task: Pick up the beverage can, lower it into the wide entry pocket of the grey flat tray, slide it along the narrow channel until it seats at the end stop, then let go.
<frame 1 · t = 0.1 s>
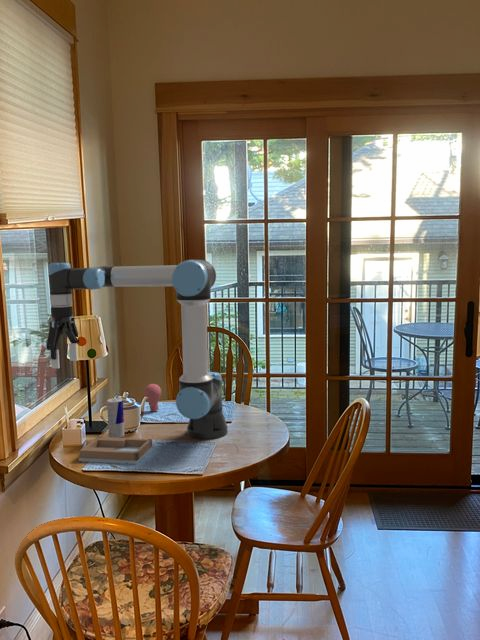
hand: (65, 364, 207), 28 cm above the table, fingers open, 13 cm apart
beverage can: (116, 440, 209), on the table
light bulb: (153, 411, 245), on the table
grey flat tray: (117, 453, 194), on the table
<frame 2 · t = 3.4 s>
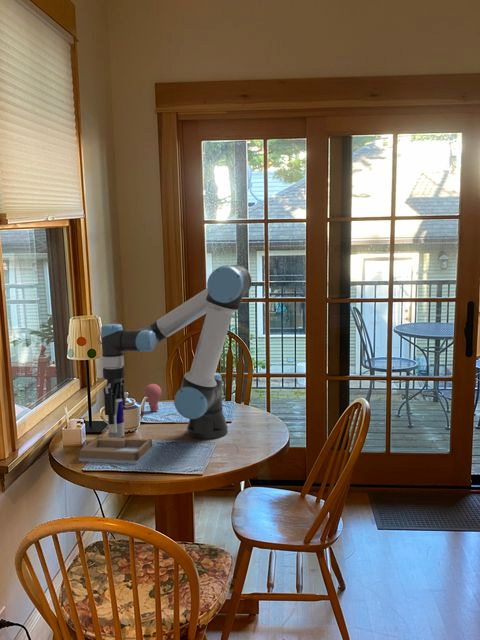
hand: (116, 429, 208), 4 cm above the table, fingers closed on beverage can, 5 cm apart
beverage can: (116, 440, 209), on the table, touching gripper
everything else where it was.
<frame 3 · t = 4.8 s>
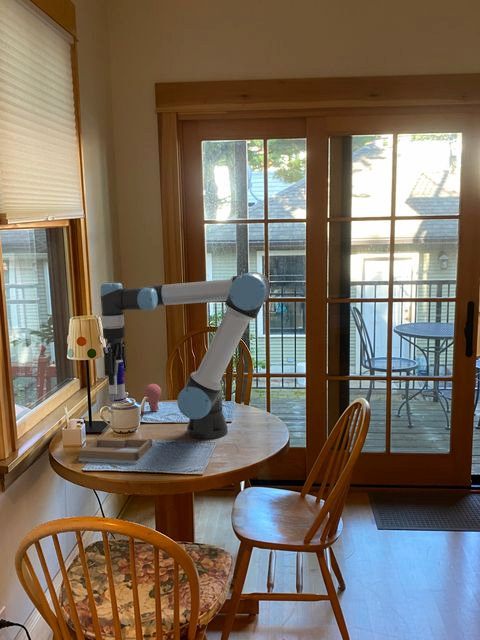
hand: (117, 391, 204), 19 cm above the table, fingers closed on beverage can, 5 cm apart
beverage can: (117, 402, 205), point 15 cm above the table, touching gripper
everything else where it was.
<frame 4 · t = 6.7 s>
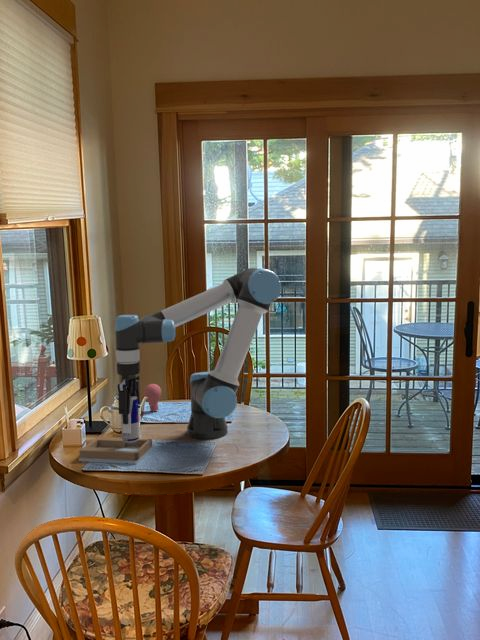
hand: (130, 429, 192), 9 cm above the table, fingers closed on beverage can, 5 cm apart
beverage can: (130, 441, 192), point 5 cm above the table, touching gripper
everything else where it was.
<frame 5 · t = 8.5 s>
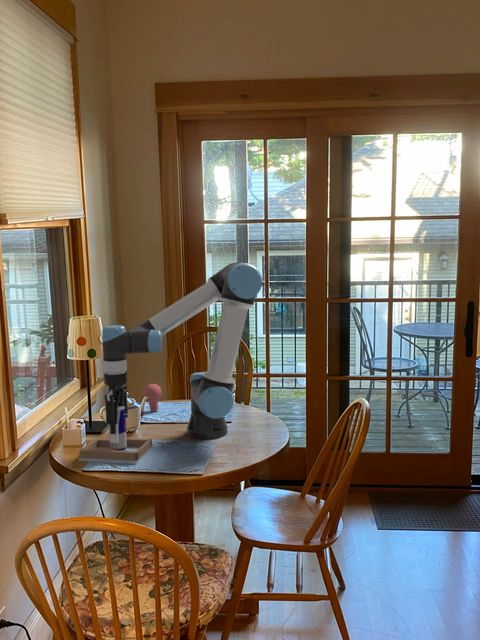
hand: (118, 439, 193), 5 cm above the table, fingers closed on beverage can, 5 cm apart
beverage can: (118, 451, 194), point 1 cm above the table, touching gripper
everything else where it was.
when the fingers open (5 cm above the table, at t = 10.1 s): beverage can stays where it is, resting on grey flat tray.
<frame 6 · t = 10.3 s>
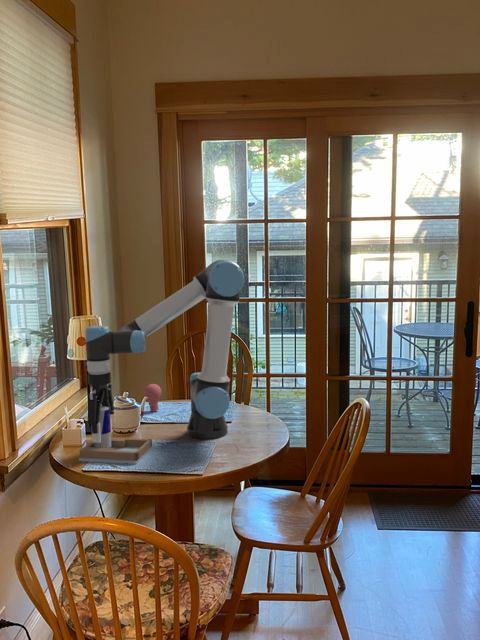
hand: (102, 437, 194), 6 cm above the table, fingers open, 8 cm apart
beverage can: (103, 451, 195), point 1 cm above the table, touching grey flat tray
everything else where it was.
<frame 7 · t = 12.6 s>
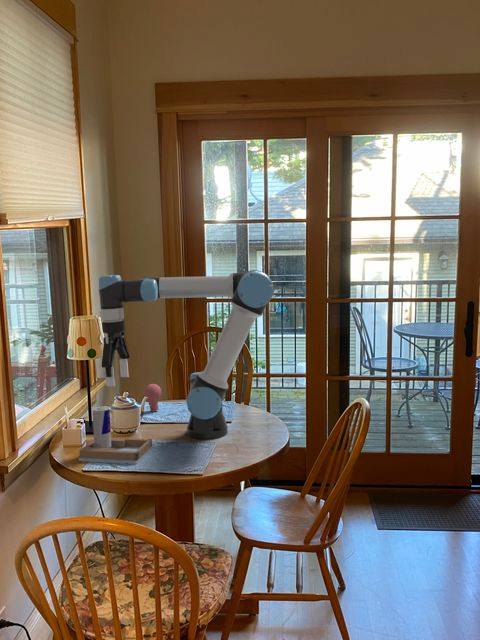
hand: (117, 381, 198), 23 cm above the table, fingers open, 13 cm apart
nothing on the table moved.
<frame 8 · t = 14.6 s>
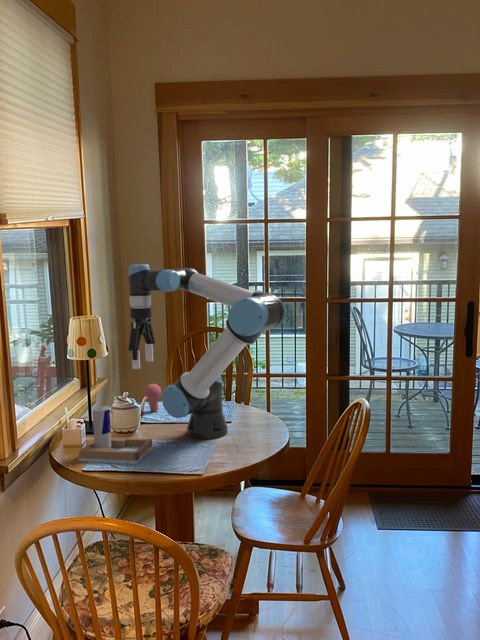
hand: (143, 364, 210), 27 cm above the table, fingers open, 13 cm apart
nothing on the table moved.
at the end: beverage can 0.5 cm from the target spot on the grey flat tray, point 0.6 cm above the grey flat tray's base; beverage can tilted 0°; the gripper is holding nothing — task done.
